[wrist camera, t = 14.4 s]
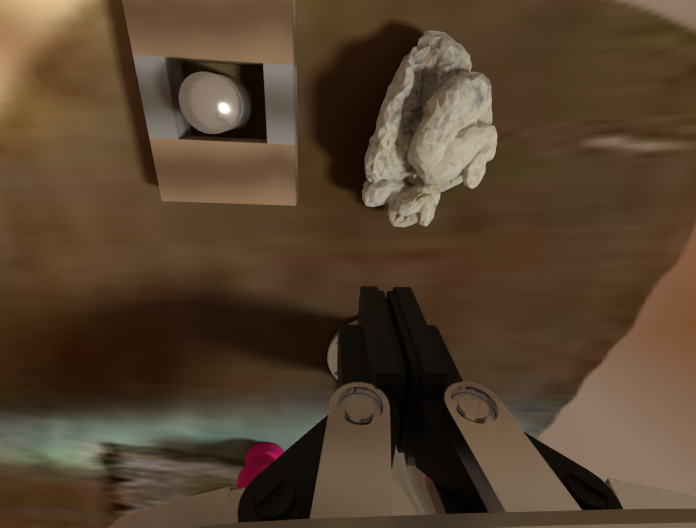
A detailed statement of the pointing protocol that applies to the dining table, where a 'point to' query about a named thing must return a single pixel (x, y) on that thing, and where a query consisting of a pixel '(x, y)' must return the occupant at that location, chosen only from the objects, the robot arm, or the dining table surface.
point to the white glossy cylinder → (215, 102)
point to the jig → (225, 48)
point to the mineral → (429, 131)
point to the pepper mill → (257, 461)
